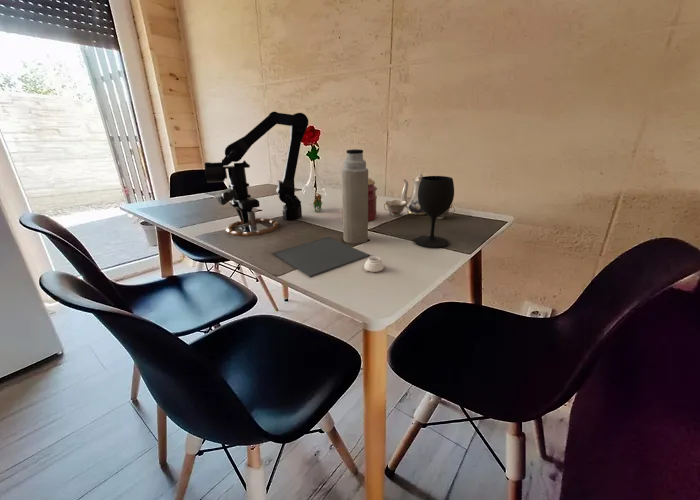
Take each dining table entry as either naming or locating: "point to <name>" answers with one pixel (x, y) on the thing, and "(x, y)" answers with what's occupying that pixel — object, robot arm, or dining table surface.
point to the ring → (236, 233)
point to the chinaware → (410, 201)
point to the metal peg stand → (252, 223)
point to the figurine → (317, 202)
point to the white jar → (373, 264)
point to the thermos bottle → (355, 198)
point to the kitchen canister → (371, 200)
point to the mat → (320, 256)
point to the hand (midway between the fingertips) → (244, 222)
